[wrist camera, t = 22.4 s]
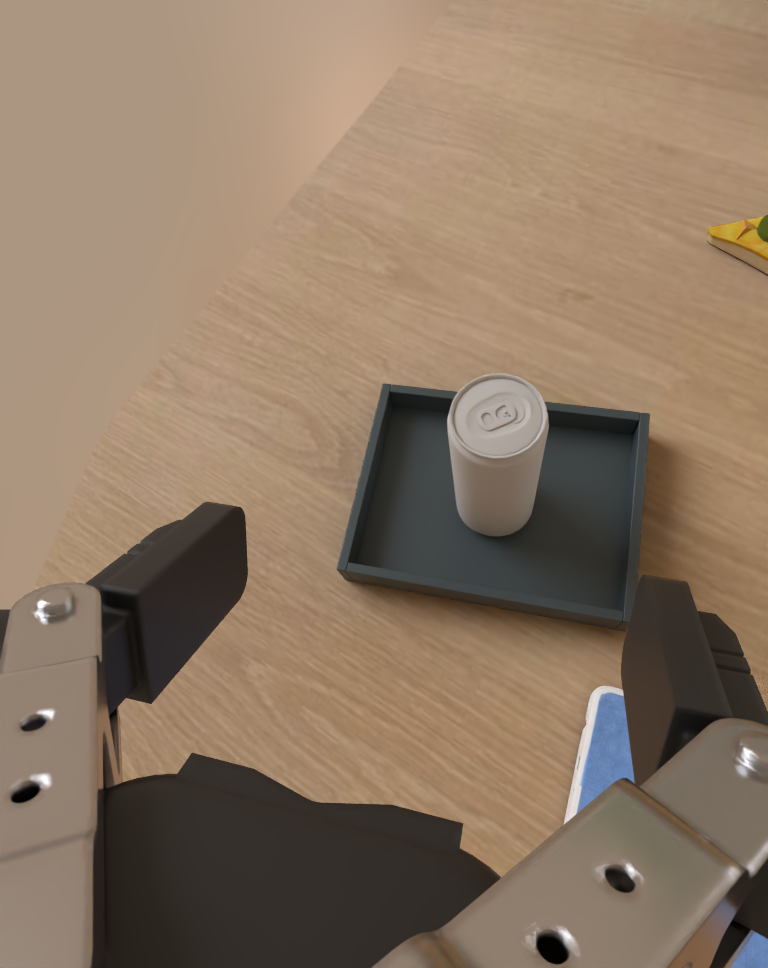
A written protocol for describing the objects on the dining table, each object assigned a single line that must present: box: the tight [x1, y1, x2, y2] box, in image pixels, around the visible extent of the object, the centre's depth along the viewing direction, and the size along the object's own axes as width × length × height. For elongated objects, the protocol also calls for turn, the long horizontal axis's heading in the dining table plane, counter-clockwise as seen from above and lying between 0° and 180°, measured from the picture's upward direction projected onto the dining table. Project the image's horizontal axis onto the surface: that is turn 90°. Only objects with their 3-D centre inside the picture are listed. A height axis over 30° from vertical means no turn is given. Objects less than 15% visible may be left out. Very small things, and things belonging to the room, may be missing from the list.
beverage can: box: [447, 373, 549, 536], centre depth 35 cm, size 5×5×12 cm
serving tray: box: [337, 384, 650, 631], centre depth 40 cm, size 17×13×2 cm
